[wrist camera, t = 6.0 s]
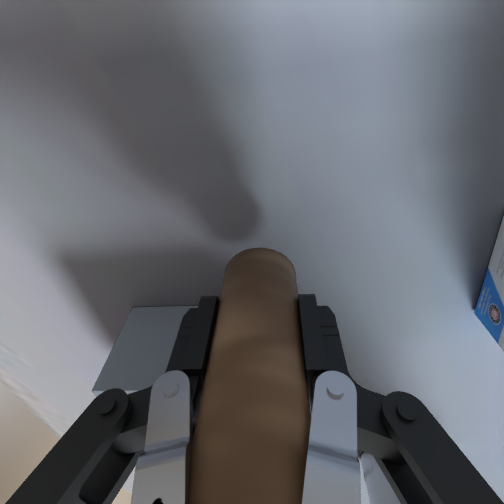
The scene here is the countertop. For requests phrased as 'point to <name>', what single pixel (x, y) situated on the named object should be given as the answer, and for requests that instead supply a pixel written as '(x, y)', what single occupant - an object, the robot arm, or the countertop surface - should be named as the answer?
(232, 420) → the walnut dowel
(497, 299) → the ink box
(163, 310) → the socket block
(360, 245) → the countertop surface
